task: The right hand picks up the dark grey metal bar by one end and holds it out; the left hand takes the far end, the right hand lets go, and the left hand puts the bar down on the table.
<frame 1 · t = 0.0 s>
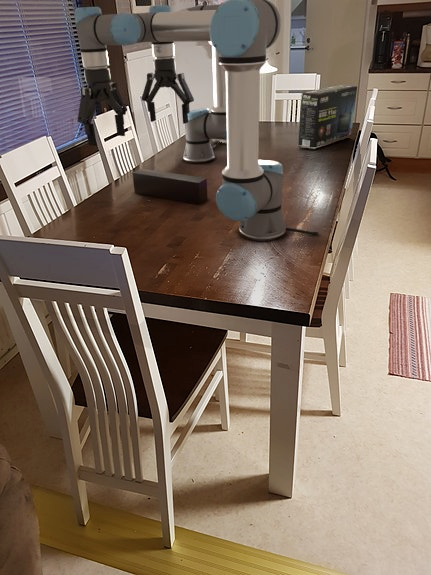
left hand: (169, 122, 169), 28 cm above the table, tool pointing down, fingers open, 13 cm apart
right hand: (107, 140, 148), 28 cm above the table, tool pointing down, fingers open, 13 cm apart
fossil: (227, 141, 255), on the table
router box: (325, 143, 245), on the table
bar: (170, 196, 182), on the table
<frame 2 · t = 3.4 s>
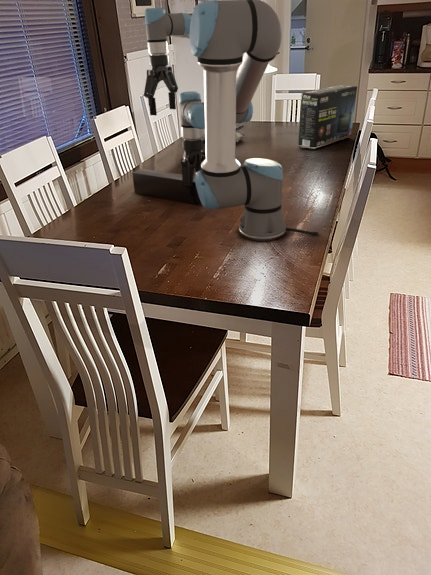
left hand: (163, 112, 189), 28 cm above the table, tool pointing down, fingers open, 13 cm apart
right hand: (196, 199, 177), 0 cm above the table, tool pointing down, fingers closed on bar, 6 cm apart
bar: (170, 196, 182), on the table, touching right hand
everything else where it was.
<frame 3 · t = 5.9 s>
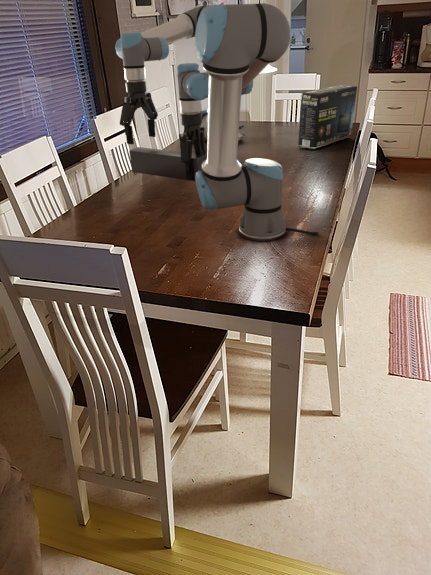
left hand: (141, 140, 178), 20 cm above the table, tool pointing down, fingers open, 13 cm apart
right hand: (194, 177, 172), 9 cm above the table, tool pointing down, fingers closed on bar, 6 cm apart
bar: (168, 174, 178), point 9 cm above the table, touching right hand
everything else where it was.
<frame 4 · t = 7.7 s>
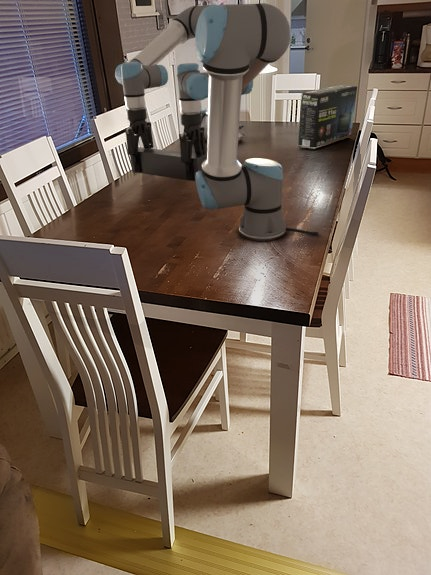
left hand: (143, 169, 183), 9 cm above the table, tool pointing down, fingers closed on bar, 6 cm apart
right hand: (194, 177, 172), 9 cm above the table, tool pointing down, fingers closed on bar, 6 cm apart
bar: (168, 174, 178), point 9 cm above the table, touching right hand, left hand
everything else where it was.
when the right hand's fingers open (9 cm above the table, at t = 8.5 s): bar stays where it is, held by the left hand.
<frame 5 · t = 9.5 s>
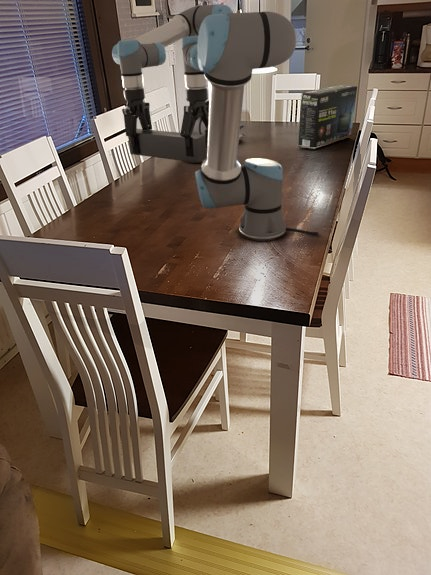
left hand: (141, 151, 179), 16 cm above the table, tool pointing down, fingers closed on bar, 6 cm apart
right hand: (200, 152, 165), 19 cm above the table, tool pointing down, fingers open, 13 cm apart
bar: (167, 156, 174), point 16 cm above the table, touching left hand
everything else where it was.
when the left hand's fingers open (2 cm above the table, at t = 15.3 s): bar drops 1 cm, on the table.
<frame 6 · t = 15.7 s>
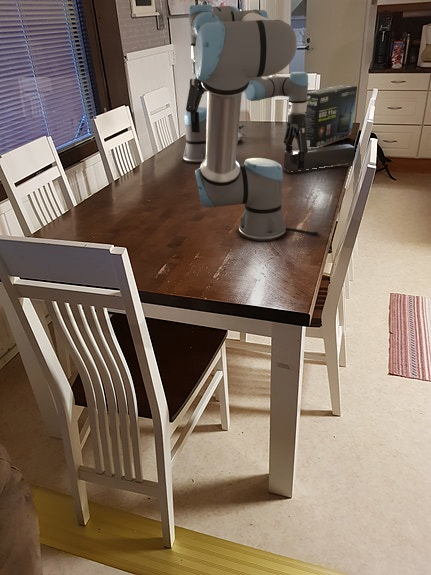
left hand: (294, 164, 203), 3 cm above the table, tool pointing down, fingers open, 12 cm apart
right hand: (206, 128, 160), 28 cm above the table, tool pointing down, fingers open, 13 cm apart
bar: (318, 168, 207), on the table
everything else where it was.
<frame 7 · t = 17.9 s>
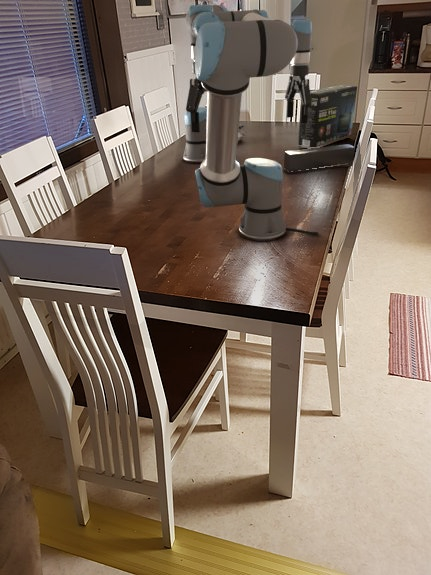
left hand: (296, 120, 193), 22 cm above the table, tool pointing down, fingers open, 13 cm apart
right hand: (206, 128, 160), 28 cm above the table, tool pointing down, fingers open, 13 cm apart
nothing on the table moved.
at the end: bar inside the target area (12.0 cm from its centre), on the table; the left hand is holding nothing; the right hand is holding nothing; bar at rest at the end (0.0 cm/s) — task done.
